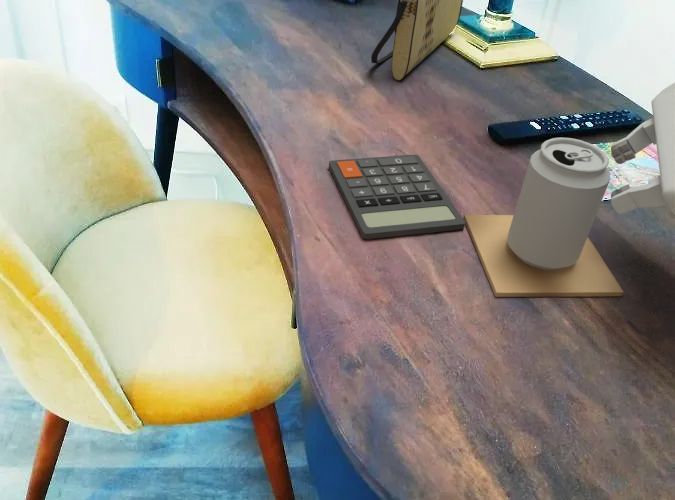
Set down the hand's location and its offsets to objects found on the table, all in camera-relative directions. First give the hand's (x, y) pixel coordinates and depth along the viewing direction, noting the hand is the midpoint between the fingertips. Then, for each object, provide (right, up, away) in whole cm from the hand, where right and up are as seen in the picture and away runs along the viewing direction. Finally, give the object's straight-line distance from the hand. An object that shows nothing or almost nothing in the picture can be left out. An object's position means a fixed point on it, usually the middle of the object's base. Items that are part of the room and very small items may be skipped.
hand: (613, 178), depth 61 cm
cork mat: (-5, -7, +7) cm, 11 cm away
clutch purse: (-13, +27, +50) cm, 58 cm away
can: (-5, -7, +7) cm, 11 cm away
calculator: (-20, -1, +14) cm, 24 cm away
